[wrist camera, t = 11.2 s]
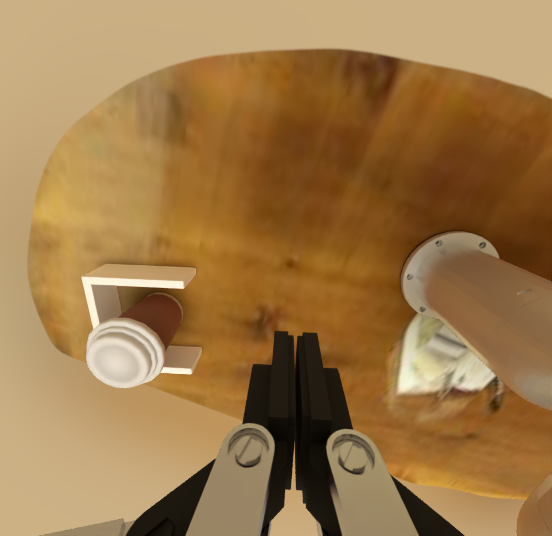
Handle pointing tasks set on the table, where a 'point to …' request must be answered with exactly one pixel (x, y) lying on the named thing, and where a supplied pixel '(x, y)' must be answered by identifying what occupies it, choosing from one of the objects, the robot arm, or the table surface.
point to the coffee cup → (134, 342)
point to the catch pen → (109, 276)
